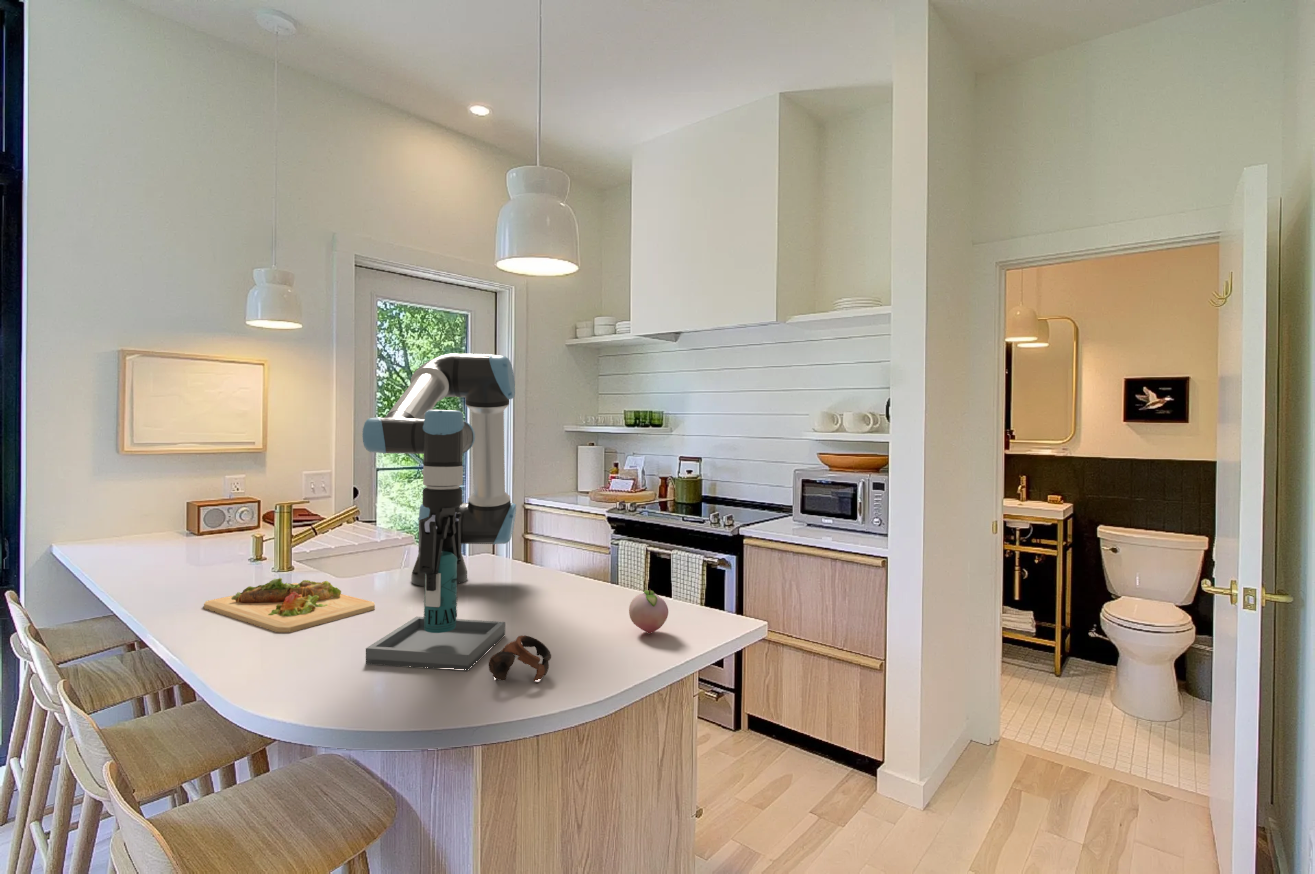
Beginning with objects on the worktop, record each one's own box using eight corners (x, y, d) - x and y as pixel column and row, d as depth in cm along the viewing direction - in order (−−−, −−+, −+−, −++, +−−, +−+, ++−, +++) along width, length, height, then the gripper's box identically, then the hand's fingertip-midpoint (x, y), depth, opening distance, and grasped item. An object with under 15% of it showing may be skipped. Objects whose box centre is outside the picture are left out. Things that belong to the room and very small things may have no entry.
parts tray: (416, 630, 142) (416, 616, 142) (504, 635, 140) (505, 621, 140) (365, 664, 122) (365, 648, 122) (467, 671, 120) (468, 655, 120)
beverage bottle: (421, 641, 127) (422, 540, 127) (424, 630, 134) (425, 533, 133) (456, 639, 129) (458, 539, 128) (457, 628, 135) (459, 533, 135)
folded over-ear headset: (511, 665, 125) (534, 630, 124) (542, 699, 120) (565, 662, 119) (466, 669, 115) (491, 630, 114) (497, 706, 110) (523, 666, 109)
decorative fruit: (623, 628, 147) (624, 584, 147) (657, 625, 150) (658, 582, 149) (635, 642, 138) (637, 595, 138) (672, 639, 141) (673, 593, 141)
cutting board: (380, 610, 158) (380, 579, 158) (283, 637, 138) (283, 601, 138) (295, 588, 176) (296, 561, 175) (199, 609, 155) (199, 578, 155)
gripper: (445, 481, 141) (443, 588, 141) (400, 491, 121) (398, 614, 122) (479, 483, 140) (477, 589, 140) (439, 492, 120) (437, 616, 121)
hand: (440, 601), depth 131 cm, fingers closed on beverage bottle, 6 cm apart
